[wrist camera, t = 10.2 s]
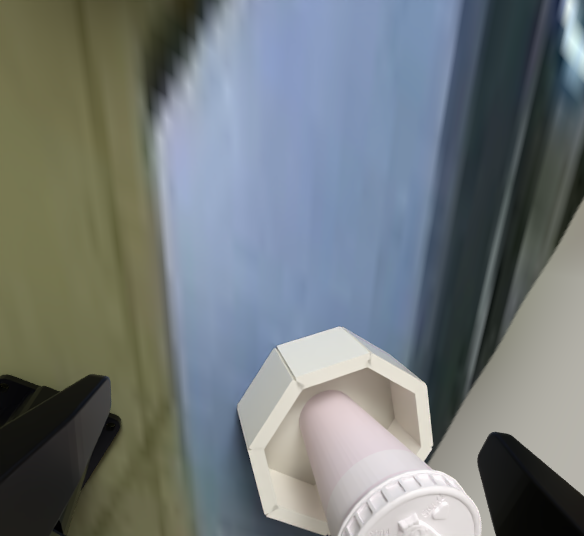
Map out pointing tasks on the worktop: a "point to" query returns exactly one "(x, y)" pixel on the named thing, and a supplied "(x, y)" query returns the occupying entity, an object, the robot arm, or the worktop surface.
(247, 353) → the worktop surface
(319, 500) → the bowl
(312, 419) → the smoothie
